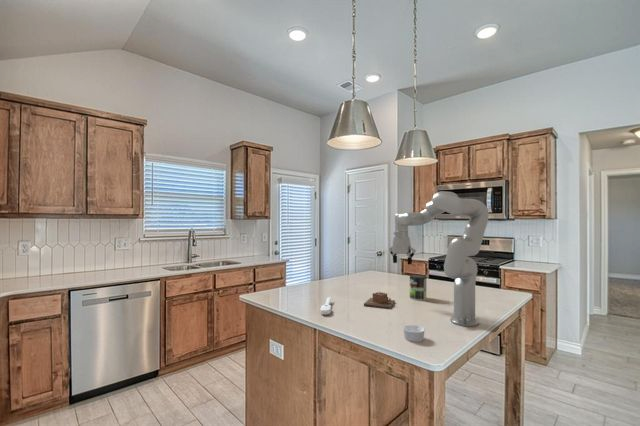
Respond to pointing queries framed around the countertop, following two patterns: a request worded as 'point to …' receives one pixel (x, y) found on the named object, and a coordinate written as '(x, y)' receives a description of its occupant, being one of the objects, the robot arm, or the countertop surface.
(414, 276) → the coffee can
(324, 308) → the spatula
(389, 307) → the post board
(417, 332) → the ramekin
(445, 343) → the countertop surface
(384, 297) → the square wooden collar
